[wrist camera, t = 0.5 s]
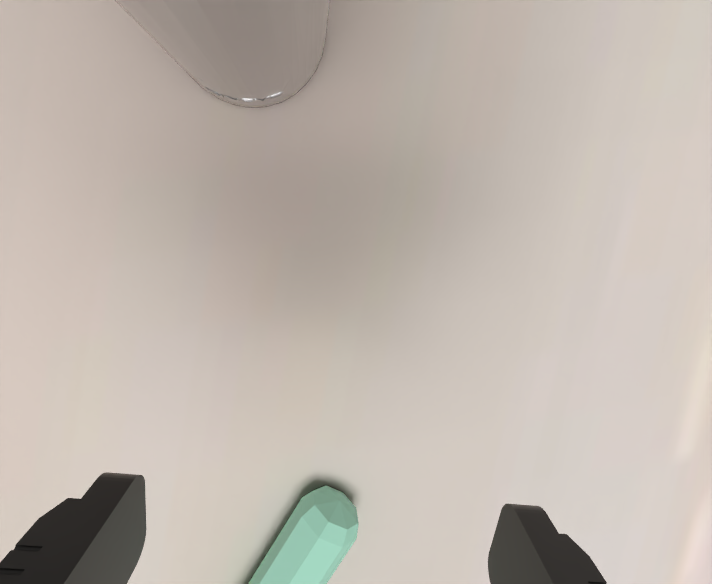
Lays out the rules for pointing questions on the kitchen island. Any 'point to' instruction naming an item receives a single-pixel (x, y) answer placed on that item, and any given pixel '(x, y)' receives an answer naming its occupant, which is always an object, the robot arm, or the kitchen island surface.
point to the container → (311, 540)
